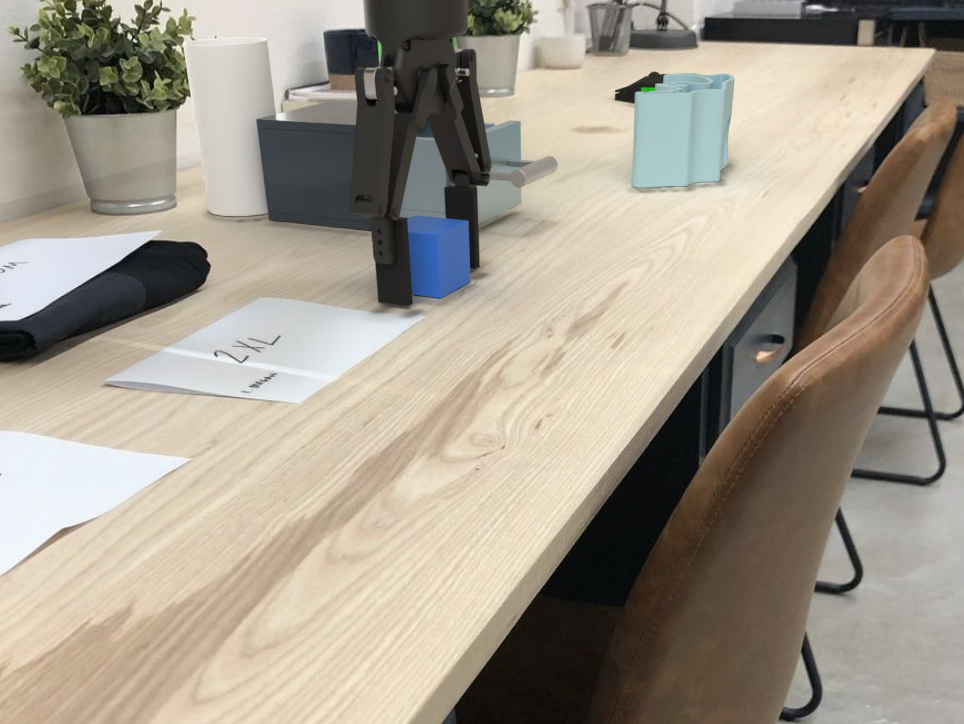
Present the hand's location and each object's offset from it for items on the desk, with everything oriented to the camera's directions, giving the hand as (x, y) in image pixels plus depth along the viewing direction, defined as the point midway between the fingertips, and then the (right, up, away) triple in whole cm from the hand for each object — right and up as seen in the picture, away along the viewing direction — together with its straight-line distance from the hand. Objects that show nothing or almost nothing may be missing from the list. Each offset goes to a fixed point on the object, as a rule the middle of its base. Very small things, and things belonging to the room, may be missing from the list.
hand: (431, 284), depth 91 cm
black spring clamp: (+33, +51, +84) cm, 103 cm away
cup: (-21, +15, +27) cm, 38 cm away
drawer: (+2, +12, +19) cm, 22 cm away
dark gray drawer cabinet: (-8, +14, +24) cm, 29 cm away
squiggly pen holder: (+27, +23, +37) cm, 51 cm away
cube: (0, 0, 0) cm, 0 cm away
